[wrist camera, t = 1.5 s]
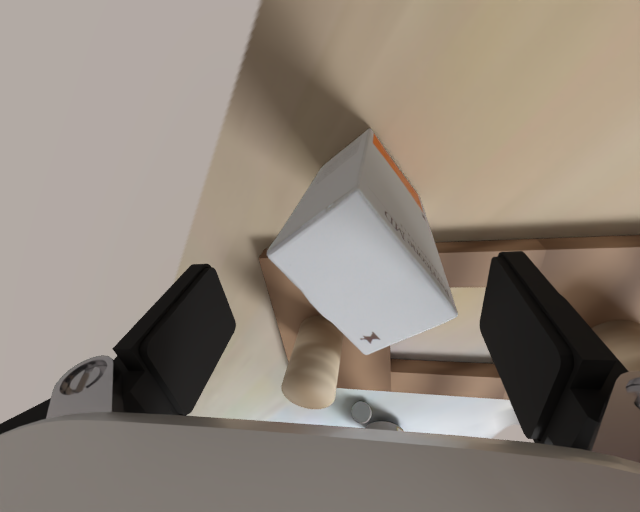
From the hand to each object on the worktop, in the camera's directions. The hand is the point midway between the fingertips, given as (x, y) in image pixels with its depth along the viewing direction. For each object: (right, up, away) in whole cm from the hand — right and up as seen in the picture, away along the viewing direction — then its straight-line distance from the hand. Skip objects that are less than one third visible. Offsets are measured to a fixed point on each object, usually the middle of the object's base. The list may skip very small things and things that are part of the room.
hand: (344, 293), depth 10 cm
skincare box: (+3, +7, +10) cm, 12 cm away
